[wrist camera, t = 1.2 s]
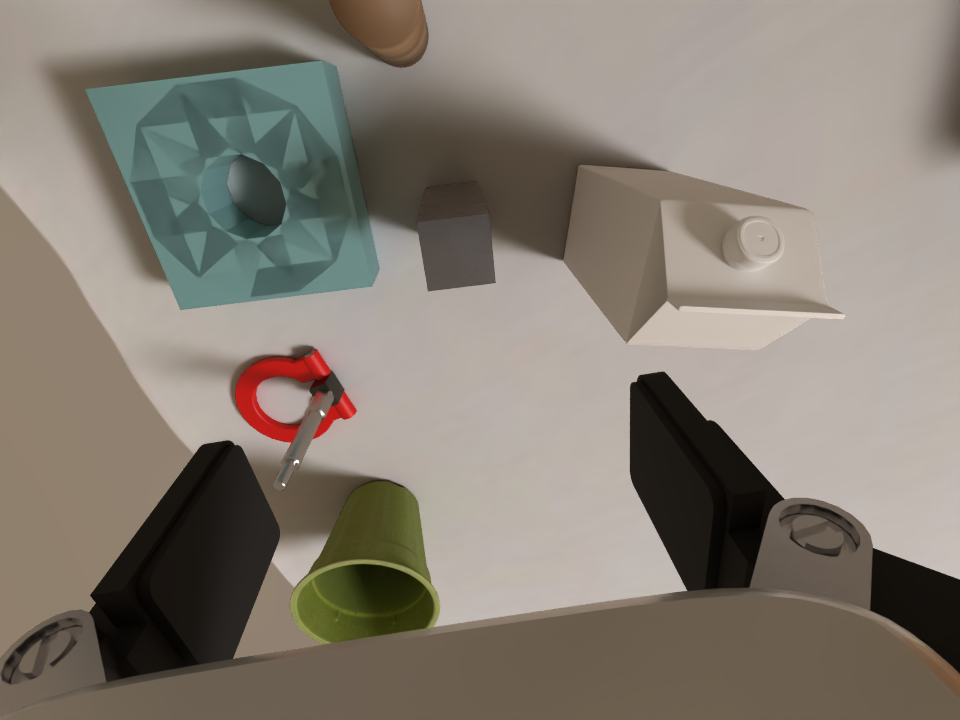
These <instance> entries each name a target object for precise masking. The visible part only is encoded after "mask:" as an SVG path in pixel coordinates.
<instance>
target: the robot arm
mask: <svg viewBox="0 0 960 720" xmlns="http://www.w3.org/2000/svg"><path fill="white" fill-rule="evenodd" d="M630 475H631V479H632V483H633V485H634V487H635V489H636V491H637V493H638V495H639V497H640V499H641V501H642V503H643V505H644V507H645V509H646V511H647V513H648V515H649V517H650V519H651V521H652V523H653V525H654V526H655V528H656V530H657V532H658V534H659V536H660V538H661V540H662V542H663V544H664V546H665V548H666V550H667V552H668V554H669V556H670V558H671V560H672V562H673V564H674V566H675V568H676V570H677V572H678V573H679V575H680V577H681V579H682V581H683V583H684V585H685V587H686V589H687V591H683V592H674V593H667V594H659V595H652V596H644V597H636V598H629V599H621V600H614V601H606V602H599V603H592V604H585V605H579V606H572V607H565V608H558V609H552V610H545V611H538V612H532V613H525V614H518V615H511V616H505V617H498V618H491V619H485V620H478V621H471V622H465V623H458V624H452V625H445V626H439V627H432V628H426V629H419V630H413V631H406V632H400V633H393V634H387V635H381V636H374V637H368V638H361V639H355V640H348V641H342V642H336V643H329V644H323V645H317V646H311V647H304V648H298V649H292V650H286V651H280V652H274V653H267V654H261V655H255V656H249V657H242V658H236V659H233V657H234V654H235V652H236V649H237V647H238V644H239V642H240V639H241V637H242V634H243V631H244V629H245V626H246V624H247V621H248V619H249V616H250V614H251V611H252V608H253V606H254V603H255V601H256V598H257V596H258V593H259V591H260V588H261V585H262V583H263V580H264V578H265V575H266V573H267V570H268V567H269V565H270V562H271V560H272V557H273V555H274V552H275V550H276V547H277V545H278V542H279V538H280V529H279V525H278V523H277V521H276V519H275V517H274V515H273V512H272V510H271V508H270V506H269V504H268V502H267V500H266V498H265V495H264V493H263V491H262V489H261V487H260V485H259V483H258V481H257V479H256V476H255V474H254V472H253V470H252V468H251V466H250V464H249V462H248V460H247V457H246V455H245V453H244V451H243V449H242V448H241V447H240V446H239V445H234V443H233V442H231V441H228V440H227V441H221V442H215V443H208V444H204V445H202V446H201V447H200V448H199V449H198V450H197V452H196V453H195V455H194V456H193V457H192V459H191V460H190V461H189V463H188V464H187V465H186V467H185V468H184V469H183V471H182V472H181V473H180V475H179V476H178V478H177V479H176V480H175V481H174V483H173V484H172V486H171V487H170V488H169V490H168V491H167V493H166V494H165V495H164V496H163V498H162V499H161V500H160V502H159V503H158V505H157V506H156V507H155V509H154V510H153V511H152V513H151V514H150V515H149V517H148V518H147V519H146V521H145V522H144V523H143V525H142V526H141V527H140V529H139V530H138V531H137V533H136V534H135V536H134V537H133V538H132V540H131V541H130V542H129V544H128V545H127V546H126V548H125V549H124V550H123V552H122V553H121V554H120V556H119V557H118V559H117V560H116V561H115V563H114V564H113V565H112V567H111V568H110V569H109V571H108V572H107V573H106V575H105V576H104V577H103V579H102V580H101V581H100V583H99V584H98V585H97V587H96V588H95V590H94V591H93V592H92V594H91V595H90V596H91V597H92V599H93V600H94V601H95V602H96V604H95V605H94V607H93V608H92V609H91V611H90V612H87V611H84V610H72V611H67V612H64V613H61V614H58V615H56V616H53V617H51V618H49V619H47V620H46V621H43V622H42V623H40V624H39V625H37V626H35V627H34V628H33V629H31V630H30V631H28V632H27V633H25V634H24V635H23V636H22V637H21V638H19V639H18V640H17V641H16V642H15V643H14V644H13V645H11V647H10V648H9V649H8V650H7V651H6V652H5V653H4V655H2V657H1V658H0V720H960V580H959V579H957V578H954V577H951V576H948V575H946V574H943V573H940V572H937V571H935V570H932V569H929V568H926V567H924V566H921V565H918V564H915V563H913V562H910V561H907V560H904V559H902V558H899V557H896V556H893V555H891V554H888V553H885V552H882V551H880V550H877V549H874V548H873V545H872V540H871V536H870V534H869V532H868V531H867V530H866V528H865V527H864V525H863V524H862V523H861V522H860V521H858V520H857V519H856V518H855V517H854V516H853V515H851V514H850V513H848V512H846V511H844V510H843V509H841V508H839V507H837V506H835V505H832V504H829V503H827V502H824V501H820V500H815V499H810V498H791V499H786V500H785V499H784V498H783V497H782V496H781V495H780V494H779V493H778V491H777V490H776V489H775V488H774V487H773V486H772V485H771V483H770V482H769V481H768V480H767V479H766V478H765V477H764V476H763V474H762V473H761V472H760V471H759V470H758V469H757V468H756V467H755V465H754V464H753V463H752V462H751V461H750V460H749V459H748V458H747V456H746V455H745V454H744V453H743V452H742V451H741V450H740V449H739V447H738V446H737V445H736V444H735V443H734V442H733V441H732V440H731V438H730V437H729V436H728V435H727V434H726V433H725V432H724V430H723V429H722V428H721V427H720V426H719V425H718V424H717V423H716V422H714V421H711V420H709V421H707V420H706V419H705V418H704V417H703V415H702V414H701V413H700V412H699V411H698V410H697V408H696V407H695V406H694V405H693V404H692V403H691V402H690V400H689V399H688V398H687V397H686V396H685V395H684V393H683V392H682V391H681V390H680V389H679V388H678V386H677V385H676V384H675V383H674V382H673V381H672V379H671V378H670V377H669V376H668V375H667V374H666V373H665V372H657V373H650V374H644V375H639V376H638V379H637V382H633V383H631V386H630Z"/></svg>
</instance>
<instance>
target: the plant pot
mask: <svg viewBox="0 0 960 720" xmlns="http://www.w3.org/2000/svg"><path fill="white" fill-rule="evenodd" d="M290 611H291V615H292V617H293V619H294V621H295V623H296V624H297V626H298V627H299V628H300V629H301V630H302V631H303V632H305V633H306V634H307V635H308V636H310V637H311V638H312V639H314V640H316V641H318V642H319V643H322V644H329V643H336V642H342V641H348V640H355V639H361V638H368V637H374V636H381V635H387V634H393V633H400V632H406V631H413V630H419V629H426V628H432V627H433V626H434V625H435V623H436V622H437V620H438V617H439V613H440V601H439V597H438V594H437V592H436V590H435V588H434V587H433V586H432V584H431V578H430V574H429V571H428V568H427V565H426V558H425V551H424V543H423V536H422V528H421V521H420V514H419V506H418V502H417V500H416V498H415V496H414V495H413V494H412V493H411V492H410V491H409V490H408V489H406V488H404V487H400V486H397V485H395V484H393V483H391V482H387V481H376V482H370V483H367V484H364V485H362V486H360V487H358V488H356V489H355V490H354V491H353V492H352V493H351V495H350V496H349V497H348V499H347V501H346V503H345V505H344V507H343V509H342V511H341V513H340V515H339V517H338V519H337V521H336V524H335V526H334V528H333V530H332V532H331V534H330V536H329V538H328V540H327V542H326V544H325V546H324V548H323V550H322V552H321V554H320V556H319V558H318V559H317V560H316V561H315V562H314V564H313V566H312V567H311V569H310V571H309V573H308V574H307V575H306V576H305V577H304V578H303V579H302V580H301V581H300V582H299V583H298V584H297V586H296V587H295V589H294V591H293V593H292V596H291V599H290Z"/></svg>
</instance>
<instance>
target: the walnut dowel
mask: <svg viewBox="0 0 960 720" xmlns="http://www.w3.org/2000/svg"><path fill="white" fill-rule="evenodd" d="M330 4H331V6H332V9H333V11H334V14H335V16H336V17H337V19H338V21H339V22H340V24H341V25H342V26H343V27H344V28H345V29H346V30H347V31H348V32H349V33H350V34H351V35H352V36H353V37H355V38H356V39H357V40H359V41H360V42H361V43H362V44H364V45H365V46H366V47H367V48H369V49H370V50H371V51H372V52H374V53H375V54H376V55H377V56H379V57H380V58H381V59H383V60H384V61H385V62H386V63H388V64H390V65H392V66H395V67H400V68H403V67H409V66H412V65H413V64H415V63H416V62H418V61H419V60H420V59H421V57H422V56H423V55H424V53H425V51H426V48H427V44H428V27H427V23H426V19H425V14H424V10H423V6H422V2H421V0H330Z"/></svg>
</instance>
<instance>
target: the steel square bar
mask: <svg viewBox="0 0 960 720" xmlns="http://www.w3.org/2000/svg"><path fill="white" fill-rule="evenodd" d="M417 228H418V234H419V240H420V246H421V252H422V258H423V264H424V270H425V276H426V282H427V288H428V291H434V290H443V289H451V288H459V287H467V286H475V285H483V284H491V283H496V281H495V271H494V260H493V250H492V240H491V229H490V219H489V212H488V210H487V207H486V205H485V202H484V200H483V197H482V195H481V192H480V190H479V188H478V185H477V183H476V181H475V182H467V183H459V184H450V185H442V186H434V187H426V190H425V193H424V197H423V201H422V204H421V208H420V212H419V215H418V219H417Z"/></svg>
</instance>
